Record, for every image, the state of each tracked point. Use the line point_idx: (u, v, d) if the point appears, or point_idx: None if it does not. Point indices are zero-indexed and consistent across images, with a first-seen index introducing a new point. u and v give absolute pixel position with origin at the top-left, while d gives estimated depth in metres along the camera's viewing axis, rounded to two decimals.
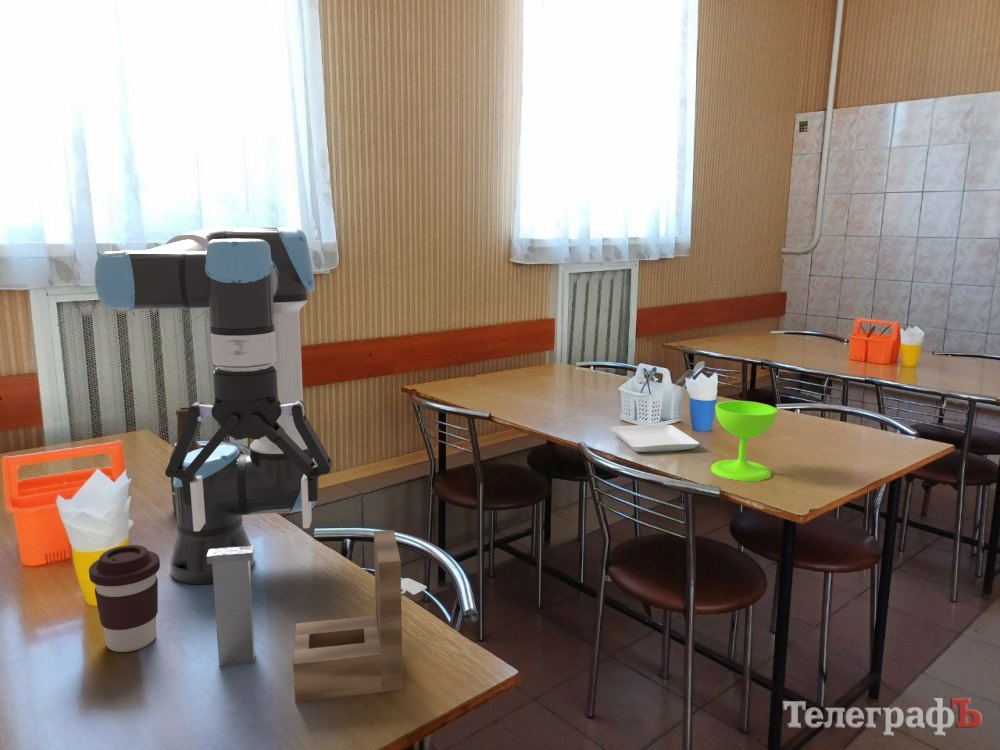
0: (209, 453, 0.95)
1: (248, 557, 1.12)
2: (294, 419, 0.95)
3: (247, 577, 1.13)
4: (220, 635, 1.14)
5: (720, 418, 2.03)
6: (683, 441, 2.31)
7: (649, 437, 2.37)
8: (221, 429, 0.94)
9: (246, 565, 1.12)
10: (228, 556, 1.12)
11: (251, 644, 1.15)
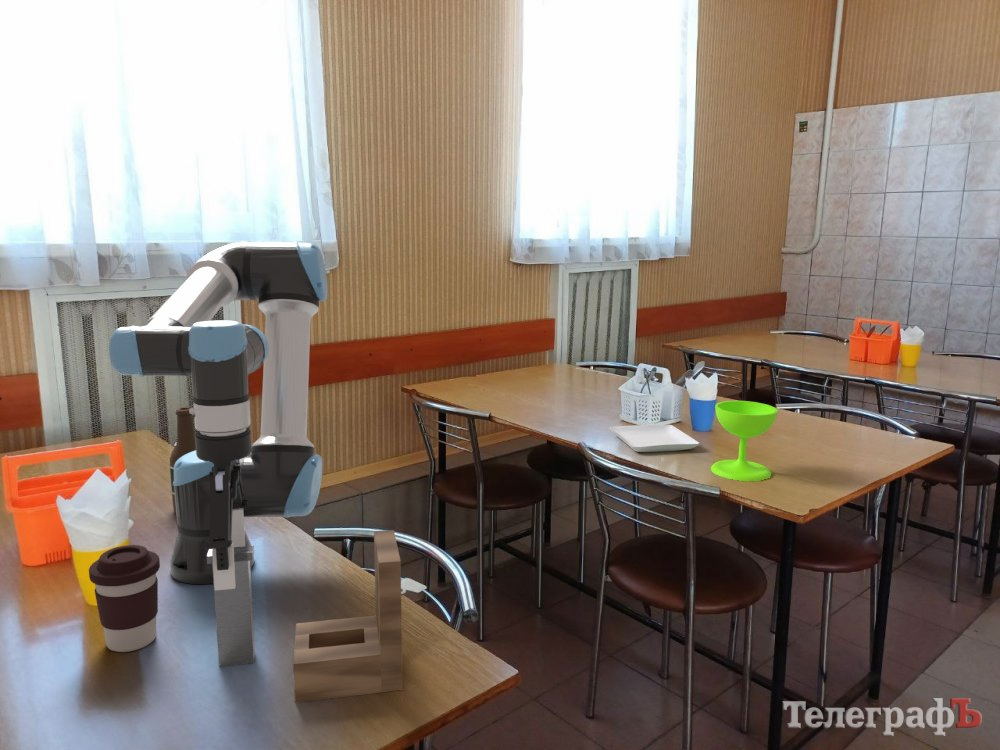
0: None
1: (248, 557, 1.12)
2: None
3: (247, 577, 1.13)
4: (220, 635, 1.14)
5: (720, 418, 2.03)
6: (683, 441, 2.31)
7: (649, 437, 2.37)
8: None
9: (246, 565, 1.12)
10: None
11: (251, 644, 1.15)
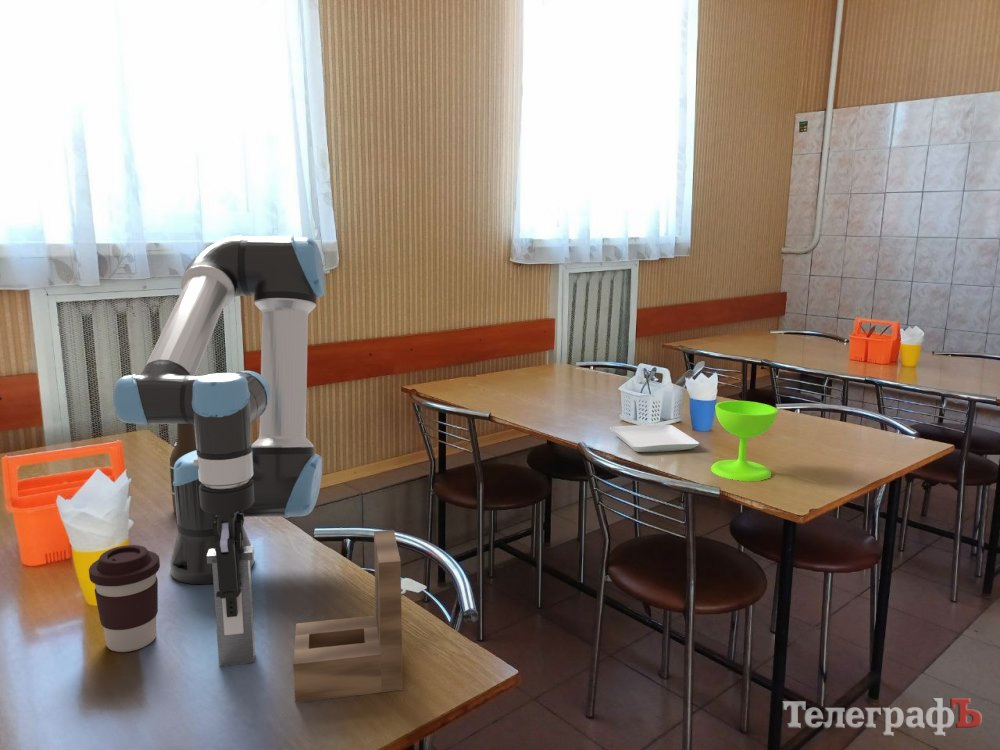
0: None
1: (248, 557, 1.12)
2: None
3: (247, 577, 1.13)
4: (220, 635, 1.14)
5: (720, 418, 2.03)
6: (683, 441, 2.31)
7: (649, 437, 2.37)
8: None
9: (246, 565, 1.12)
10: None
11: (251, 644, 1.15)
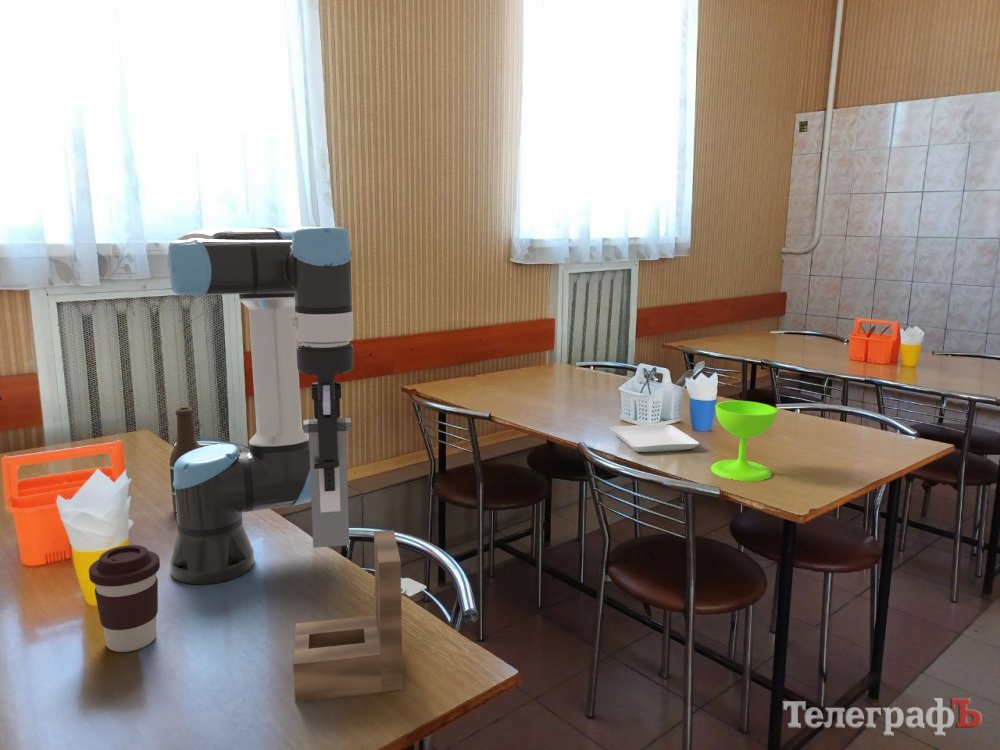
0: None
1: (346, 427, 1.05)
2: None
3: (345, 449, 1.05)
4: (315, 513, 1.06)
5: (720, 418, 2.03)
6: (683, 441, 2.31)
7: (649, 437, 2.37)
8: None
9: (344, 436, 1.05)
10: None
11: (347, 524, 1.07)
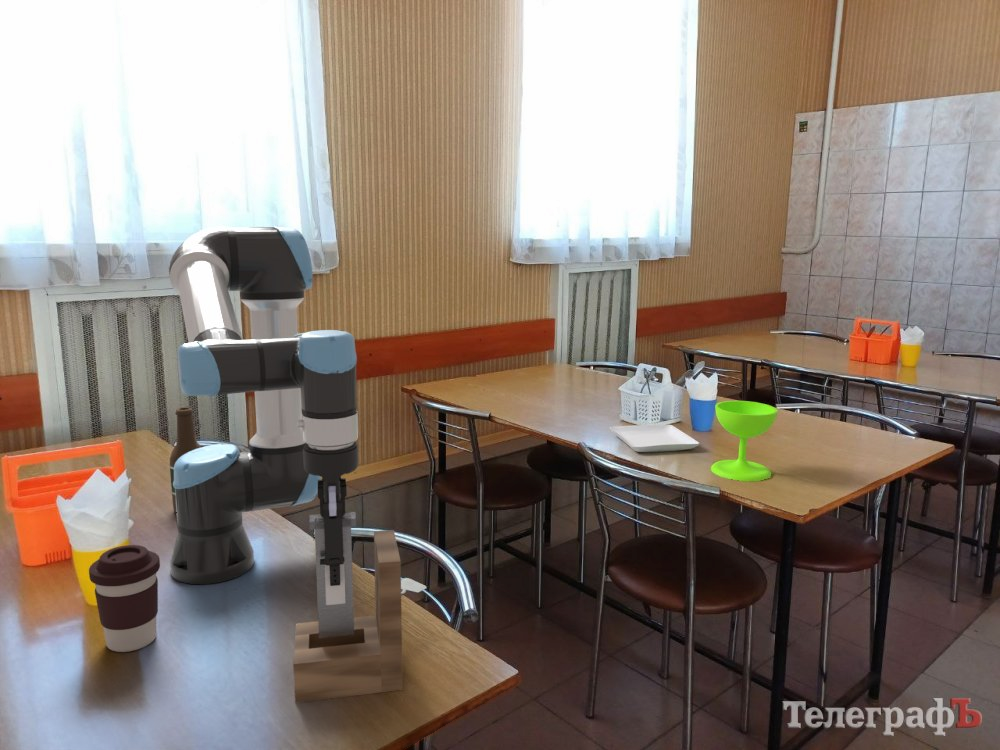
0: None
1: (351, 523, 1.07)
2: None
3: (350, 544, 1.08)
4: (321, 605, 1.09)
5: (720, 418, 2.03)
6: (683, 441, 2.31)
7: (649, 437, 2.37)
8: None
9: (349, 531, 1.08)
10: None
11: (352, 615, 1.10)
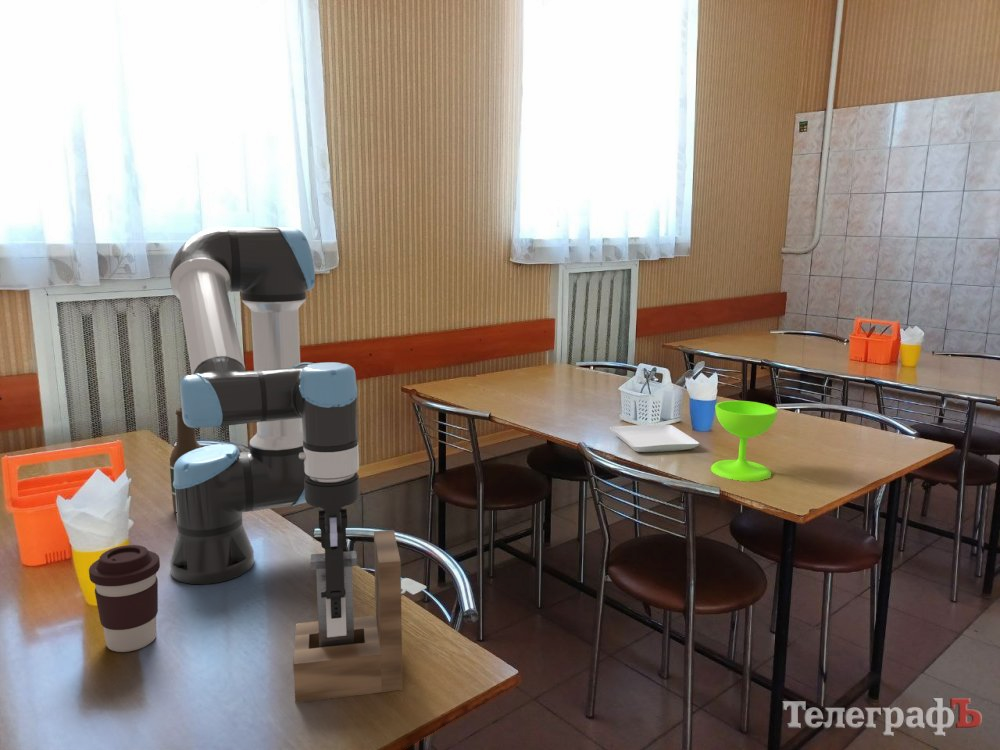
0: None
1: (352, 563, 1.09)
2: None
3: (351, 583, 1.09)
4: (322, 643, 1.10)
5: (720, 418, 2.03)
6: (683, 441, 2.31)
7: (649, 437, 2.37)
8: None
9: (350, 571, 1.09)
10: None
11: None
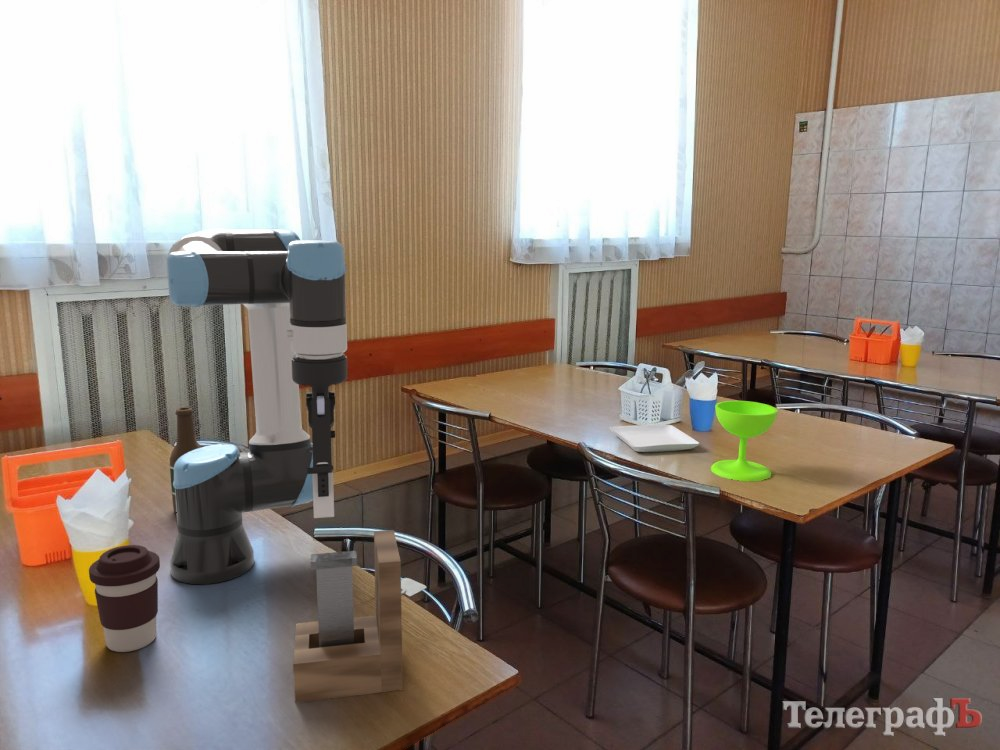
0: None
1: (352, 563, 1.09)
2: None
3: (351, 583, 1.09)
4: (322, 643, 1.10)
5: (720, 418, 2.03)
6: (683, 441, 2.31)
7: (649, 437, 2.37)
8: None
9: (350, 571, 1.09)
10: (332, 561, 1.08)
11: None
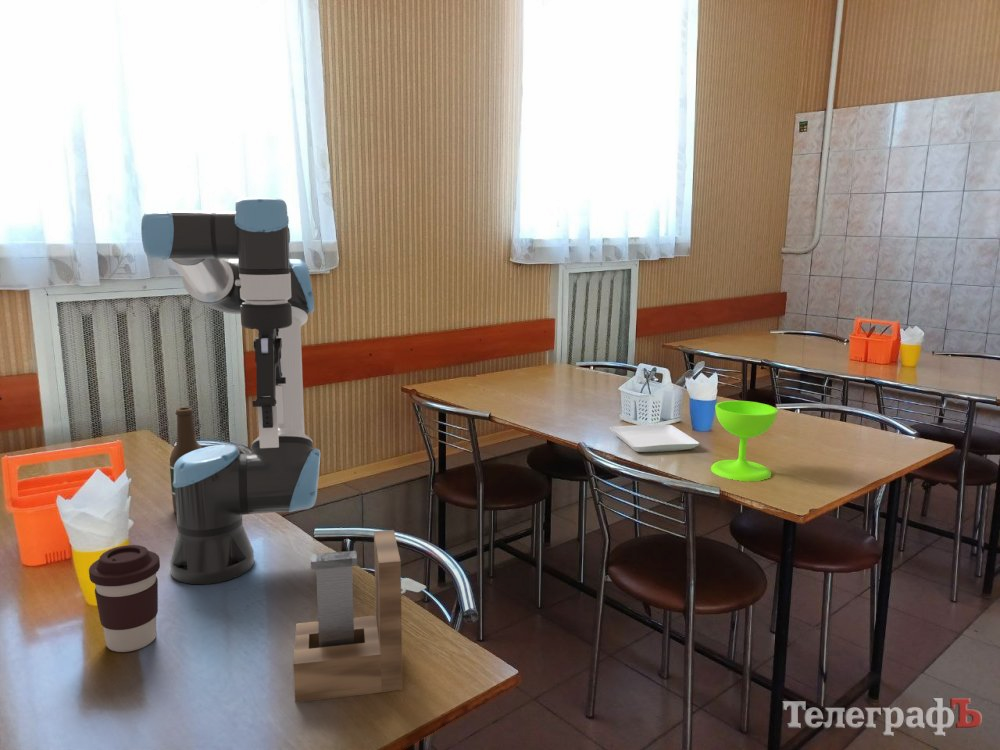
0: None
1: (352, 563, 1.09)
2: None
3: (351, 583, 1.09)
4: (322, 643, 1.10)
5: (720, 418, 2.03)
6: (683, 441, 2.31)
7: (649, 437, 2.37)
8: None
9: (350, 571, 1.09)
10: (332, 561, 1.08)
11: None
